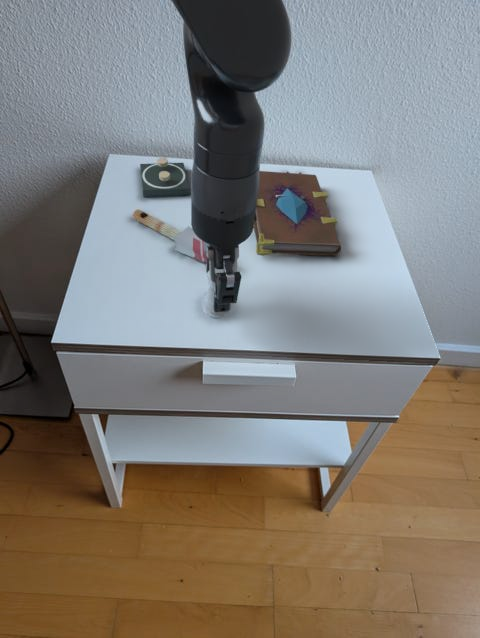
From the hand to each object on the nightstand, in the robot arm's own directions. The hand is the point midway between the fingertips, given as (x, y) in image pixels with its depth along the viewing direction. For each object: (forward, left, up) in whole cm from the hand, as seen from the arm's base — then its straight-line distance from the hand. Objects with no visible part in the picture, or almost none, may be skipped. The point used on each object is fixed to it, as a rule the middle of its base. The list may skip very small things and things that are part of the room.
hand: (217, 291), depth 62 cm
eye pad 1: (-5, +34, -1) cm, 34 cm away
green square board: (-5, +32, -4) cm, 32 cm away
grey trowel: (-4, +14, -4) cm, 15 cm away
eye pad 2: (-5, +29, -1) cm, 30 cm away
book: (+16, +21, -4) cm, 27 cm away
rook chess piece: (0, 0, -4) cm, 4 cm away
